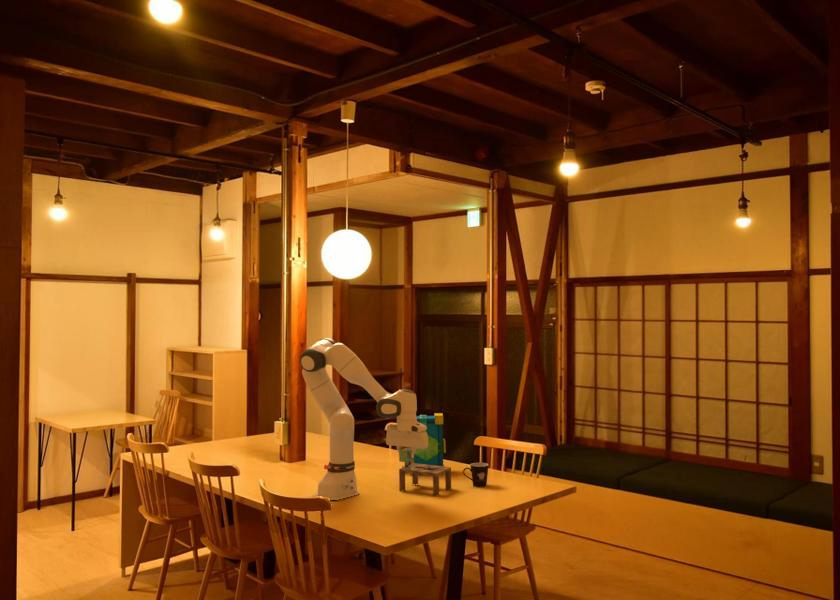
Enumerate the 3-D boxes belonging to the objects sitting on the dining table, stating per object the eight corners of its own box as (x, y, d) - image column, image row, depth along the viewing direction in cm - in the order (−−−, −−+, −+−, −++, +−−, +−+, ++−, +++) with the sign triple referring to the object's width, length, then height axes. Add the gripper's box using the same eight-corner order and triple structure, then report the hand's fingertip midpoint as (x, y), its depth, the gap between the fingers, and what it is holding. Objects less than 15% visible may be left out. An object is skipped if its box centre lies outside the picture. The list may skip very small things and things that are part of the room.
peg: (406, 471, 299) (407, 451, 299) (399, 470, 301) (399, 450, 301) (413, 468, 304) (413, 448, 304) (406, 467, 306) (406, 447, 306)
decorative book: (446, 475, 346) (445, 416, 347) (400, 476, 346) (400, 417, 346) (444, 469, 360) (444, 412, 361) (401, 469, 360) (400, 413, 361)
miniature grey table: (451, 488, 319) (450, 467, 319) (437, 495, 307) (436, 473, 307) (414, 483, 329) (414, 463, 329) (399, 490, 317) (399, 469, 317)
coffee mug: (490, 483, 327) (489, 463, 327) (487, 488, 319) (486, 466, 319) (466, 482, 330) (466, 462, 331) (462, 486, 322) (462, 465, 322)
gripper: (383, 424, 305) (382, 455, 305) (423, 428, 295) (422, 460, 295) (390, 422, 311) (390, 453, 310) (430, 426, 300) (429, 458, 300)
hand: (406, 457), depth 302 cm, fingers closed on peg, 4 cm apart
